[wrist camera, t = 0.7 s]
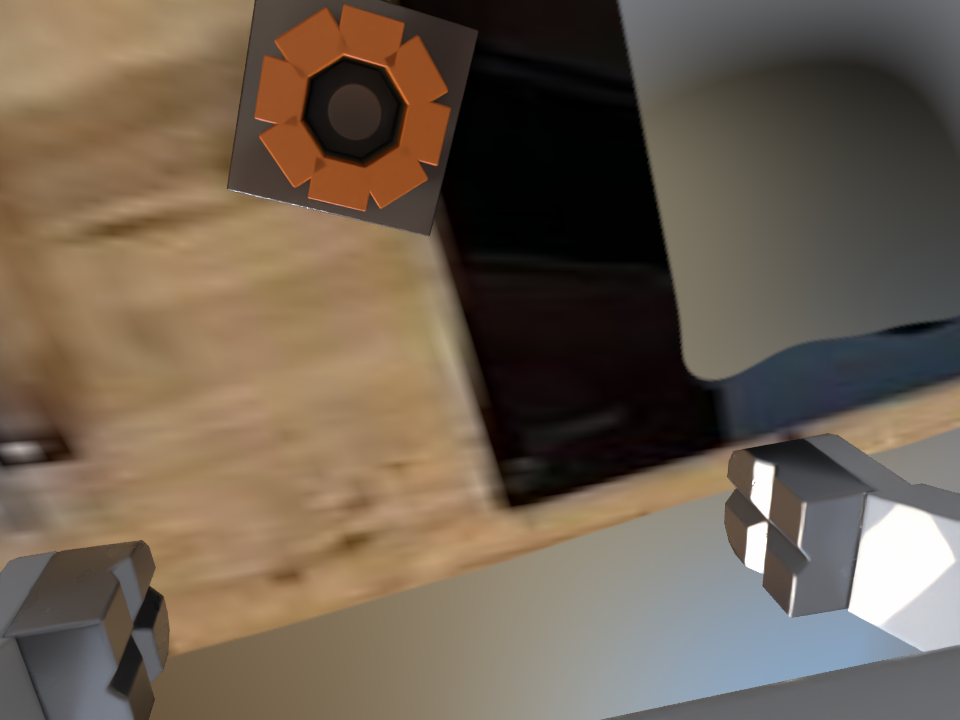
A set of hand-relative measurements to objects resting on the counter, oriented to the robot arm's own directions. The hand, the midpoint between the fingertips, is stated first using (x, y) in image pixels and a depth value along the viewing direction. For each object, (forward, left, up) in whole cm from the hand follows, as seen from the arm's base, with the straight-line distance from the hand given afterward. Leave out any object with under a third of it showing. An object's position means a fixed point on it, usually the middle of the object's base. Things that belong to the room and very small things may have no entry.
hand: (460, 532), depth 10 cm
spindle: (-5, -2, -26) cm, 26 cm away
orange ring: (-5, -2, -21) cm, 21 cm away
